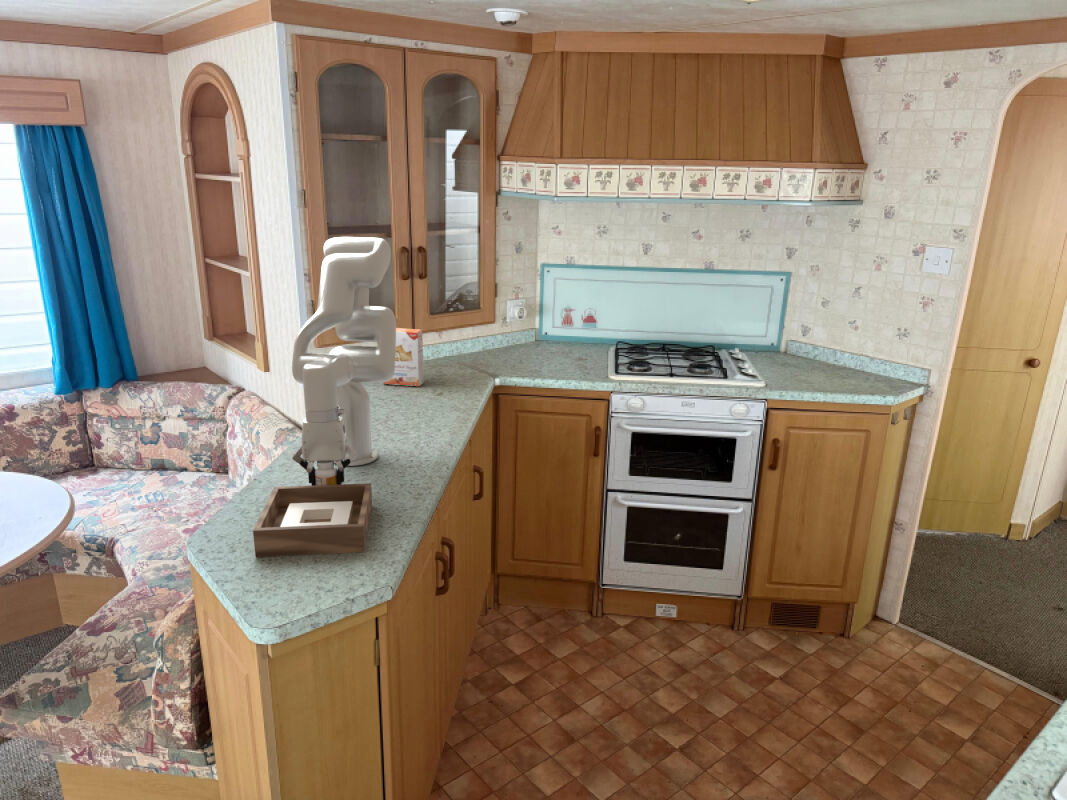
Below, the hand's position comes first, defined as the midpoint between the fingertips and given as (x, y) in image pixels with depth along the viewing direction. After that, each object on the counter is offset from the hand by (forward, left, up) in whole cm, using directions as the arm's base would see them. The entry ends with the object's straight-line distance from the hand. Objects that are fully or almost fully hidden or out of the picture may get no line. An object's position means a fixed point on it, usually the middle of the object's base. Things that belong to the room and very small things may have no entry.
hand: (327, 484), depth 180 cm
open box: (+17, 0, -4) cm, 17 cm away
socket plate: (+17, 0, -4) cm, 17 cm away
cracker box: (-99, +15, -4) cm, 100 cm away
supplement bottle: (0, 0, -4) cm, 4 cm away
